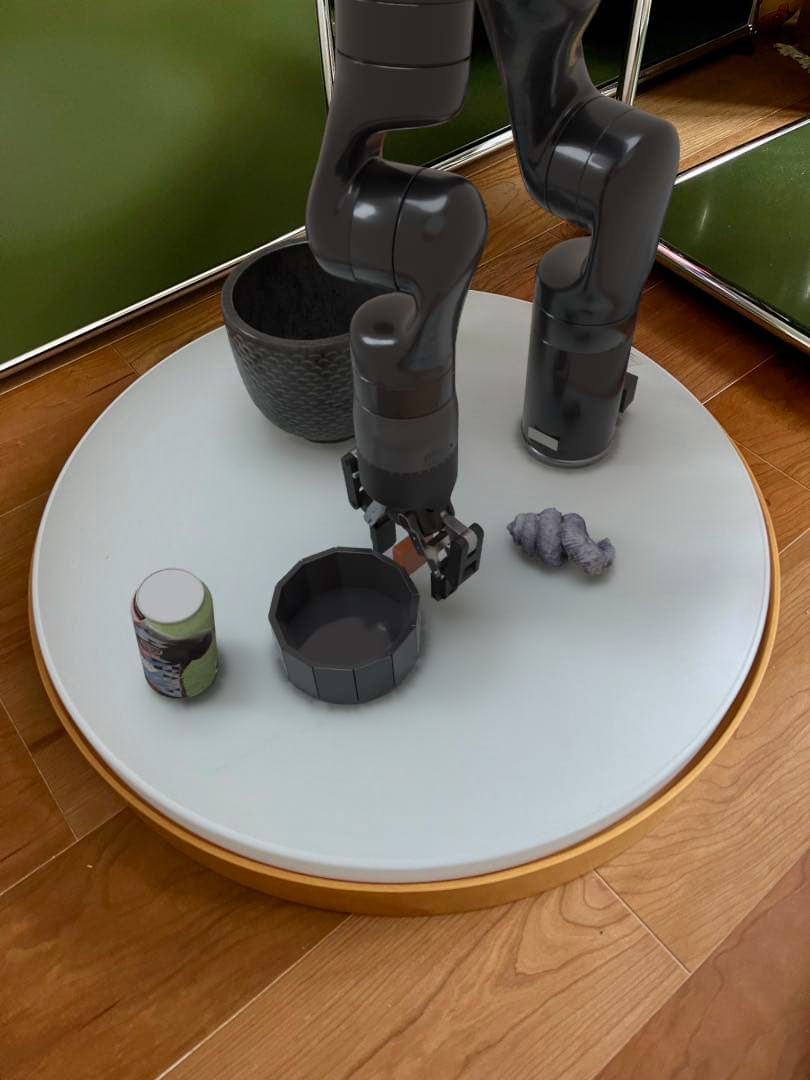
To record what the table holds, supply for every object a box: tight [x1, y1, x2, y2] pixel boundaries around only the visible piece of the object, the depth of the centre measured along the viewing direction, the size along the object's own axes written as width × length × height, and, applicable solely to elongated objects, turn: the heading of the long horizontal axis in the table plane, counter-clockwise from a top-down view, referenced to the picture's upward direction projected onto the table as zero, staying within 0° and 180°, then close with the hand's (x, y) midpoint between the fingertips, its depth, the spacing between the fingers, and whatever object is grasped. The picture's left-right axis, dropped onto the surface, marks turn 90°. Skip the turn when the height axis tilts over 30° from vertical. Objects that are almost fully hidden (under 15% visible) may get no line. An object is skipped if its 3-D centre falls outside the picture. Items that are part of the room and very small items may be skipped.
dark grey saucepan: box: [267, 534, 434, 705], centre depth 75 cm, size 16×12×7 cm
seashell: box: [505, 506, 616, 577], centre depth 80 cm, size 5×5×10 cm
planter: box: [220, 236, 394, 445], centre depth 88 cm, size 17×17×16 cm
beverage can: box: [130, 567, 219, 700], centre depth 71 cm, size 6×7×12 cm
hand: (413, 569), depth 78 cm, fingers open, 6 cm apart
